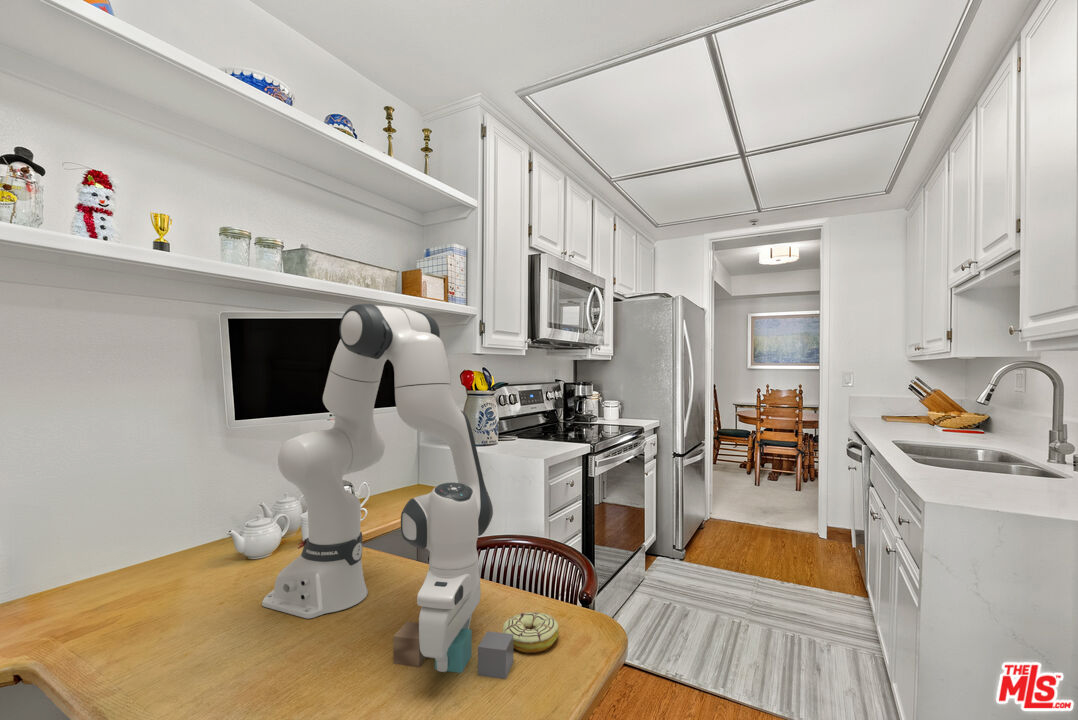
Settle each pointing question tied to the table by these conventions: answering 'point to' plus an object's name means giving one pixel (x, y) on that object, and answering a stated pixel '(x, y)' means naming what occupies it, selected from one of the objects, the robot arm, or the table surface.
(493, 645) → the charcoal cube
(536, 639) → the decorated donut
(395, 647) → the walnut cube
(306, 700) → the table surface
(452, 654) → the teal cube
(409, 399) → the robot arm
